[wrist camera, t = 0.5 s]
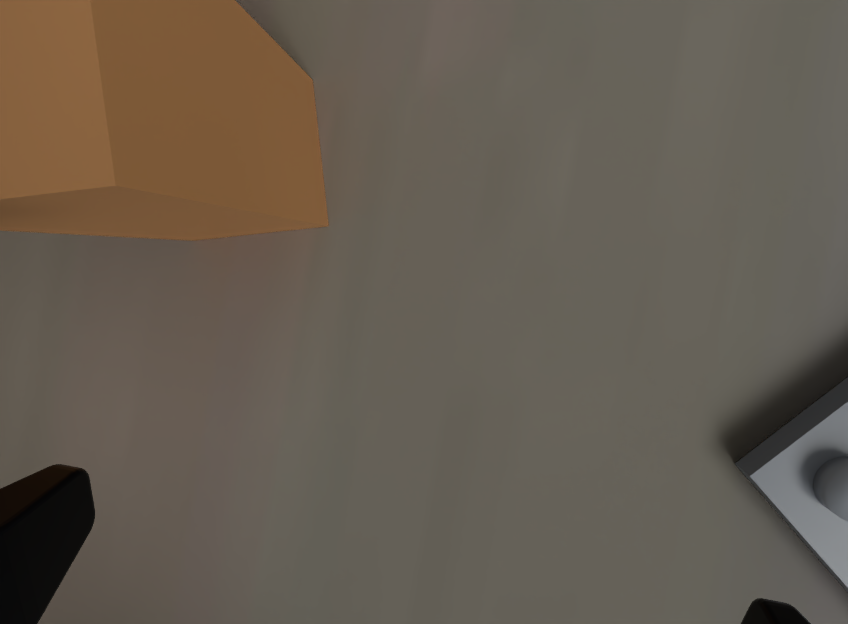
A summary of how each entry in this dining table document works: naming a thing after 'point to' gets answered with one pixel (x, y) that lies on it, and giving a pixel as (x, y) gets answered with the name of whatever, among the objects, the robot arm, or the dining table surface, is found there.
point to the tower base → (810, 477)
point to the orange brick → (153, 122)
